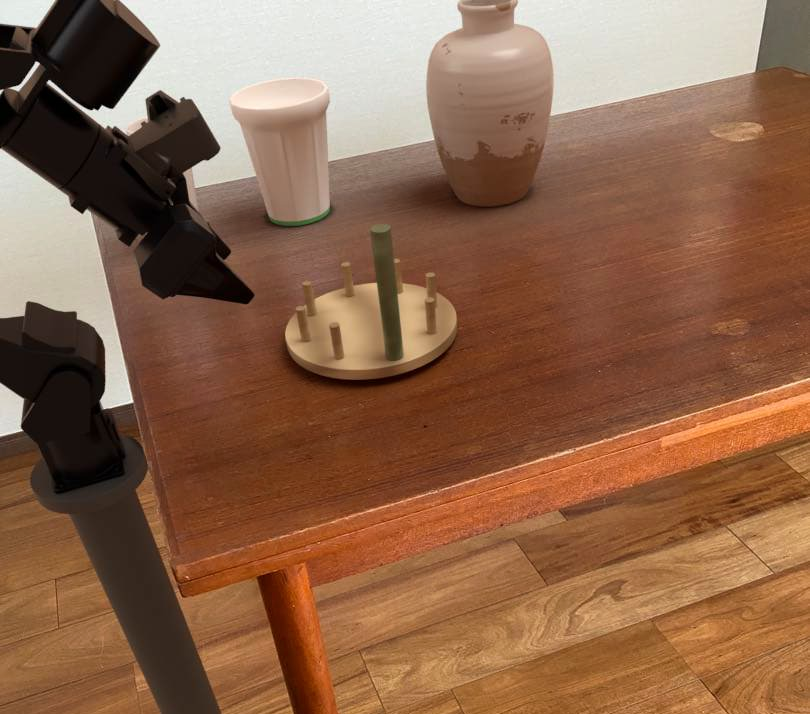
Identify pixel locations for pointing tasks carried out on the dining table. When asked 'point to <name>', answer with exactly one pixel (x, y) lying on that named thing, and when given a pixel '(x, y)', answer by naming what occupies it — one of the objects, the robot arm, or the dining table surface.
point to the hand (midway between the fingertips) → (239, 276)
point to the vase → (490, 103)
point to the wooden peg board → (372, 322)
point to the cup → (287, 146)
